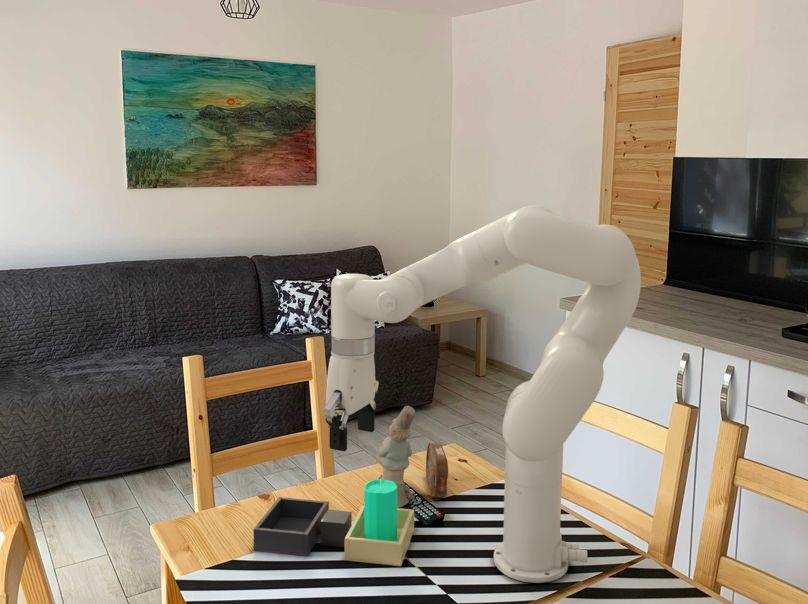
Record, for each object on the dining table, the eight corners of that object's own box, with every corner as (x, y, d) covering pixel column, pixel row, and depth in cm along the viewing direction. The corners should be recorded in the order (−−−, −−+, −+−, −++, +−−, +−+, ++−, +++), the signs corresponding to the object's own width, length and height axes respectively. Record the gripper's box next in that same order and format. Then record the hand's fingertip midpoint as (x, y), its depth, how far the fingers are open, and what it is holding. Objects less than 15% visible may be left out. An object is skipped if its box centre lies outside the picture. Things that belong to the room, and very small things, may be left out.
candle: (393, 552, 124) (393, 487, 122) (359, 548, 125) (359, 483, 123) (400, 535, 130) (401, 472, 128) (369, 531, 131) (369, 469, 129)
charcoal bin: (328, 521, 135) (328, 501, 135) (307, 556, 123) (307, 534, 123) (279, 516, 137) (279, 496, 136) (253, 550, 125) (253, 529, 124)
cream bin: (414, 529, 132) (414, 509, 132) (401, 566, 120) (401, 544, 120) (362, 524, 134) (362, 504, 134) (344, 560, 122) (344, 538, 122)
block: (351, 534, 130) (351, 511, 130) (344, 547, 126) (344, 523, 126) (328, 532, 131) (327, 509, 131) (320, 545, 127) (320, 521, 126)
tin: (424, 473, 157) (425, 436, 156) (439, 472, 157) (439, 436, 156) (433, 505, 142) (434, 465, 141) (449, 504, 142) (450, 464, 141)
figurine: (420, 506, 142) (421, 409, 139) (380, 513, 138) (380, 414, 136) (403, 487, 150) (404, 395, 147) (365, 494, 147) (365, 400, 144)
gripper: (358, 332, 133) (358, 420, 135) (306, 354, 117) (307, 453, 120) (394, 337, 130) (393, 427, 132) (346, 360, 114) (346, 461, 116)
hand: (352, 439), depth 126 cm, fingers open, 9 cm apart
